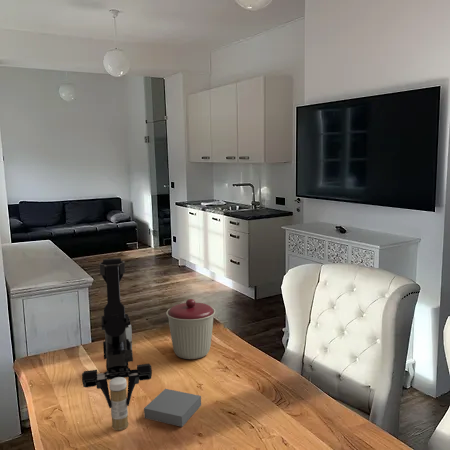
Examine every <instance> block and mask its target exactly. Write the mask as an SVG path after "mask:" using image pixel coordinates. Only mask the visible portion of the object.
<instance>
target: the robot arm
mask: <svg viewBox="0 0 450 450" xmlns="http://www.w3.org/2000/svg"><path fill="white" fill-rule="evenodd" d="M125 263H126V261H125V260H122V259H121V257H113V258H103V259H102V262H99V264H98V265H99V275H100V276H101V278H102V279H103V280H104V282H105V283H106V297H107V298H106V302H107V303H106V304H105V305H104V308H103V315H101V330H102V331H104V341H102V344H103V345H102V346H103V347H102V348H103V359H104V360H105V364H106V365H105V367H106V368H105V369H106V371H105V372H101V373H98V369H91V370H84V371H83V372H82V374H81V379H82V380H81V381H82V386H83V388H92V387H96V389H100V390H101V393H102V394H103V395H104V398H105V400H106V403H107V405H108V408H109V409H111V395H110V388H109V384H108V381H110V380H111V379H113V378H116V377H123V378H125V379H126V378H127V379H128V380H127V381H128V382H127V391H126V394H127V407H128V406H130V402H131V398H132V394H133V391H134V388H135V387H136V385H137V384H138V385H139V384H140V381H148V380H152V376H153V375H152V374H153V371H152V369H153V368H152V365H151V364H150V363H141V364H137V365H136V369H131V368H130V367H129V363H131V362H133V361H134V356H133V355H134V354H133V349H132V350H131V343H130V342H129V339H126V328H128V325H131V318H130V316H129V314H128V313H126V307H125V305H124V304H123V303H122V302H121V288H120V282H121V281H122V278H123V277H124V274H126V267H125V266H126V265H125Z"/></svg>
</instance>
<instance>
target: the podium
mask: <svg viewBox="0 0 450 450" xmlns="http://www.w3.org/2000/svg"><path fill="white" fill-rule="evenodd" d="M201 406H202V395H199V394H195V393H188V392H183V391H178V390H175V389H174V390H173V389H169V388H164V389H163V390H162V391H161V392H160V393H159V394H157V396H156V397H154V399H152V400H151V401H150V402H149V403H148V404H146V406H144V407H143V414H144V415H143V416H144V418H143V419H147V420H151V421H156V422H159V423H163V424H168V425H173V426H178V427H181V428H182V427H184V426H185V425H186V423H187V422H188V421H189V420H190V419H191V418H192V417H193V415H195V413H196V412H197V411H198V410H199V408H200V407H201Z"/></svg>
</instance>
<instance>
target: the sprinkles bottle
mask: <svg viewBox="0 0 450 450" xmlns="http://www.w3.org/2000/svg"><path fill="white" fill-rule="evenodd" d="M108 382H109V384H108V389H109V395H110V400H111V408H110V412H111V413H110V414H111V428H112V430H114V431H123V430H125V429H127V428H128V427H129V419H128V418H129V415H128V414H129V412H128V406H127V387H128V382H127V379H126V378H123V377H116V378H113V379H111V380H109V381H108Z"/></svg>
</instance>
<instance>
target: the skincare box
mask: <svg viewBox="0 0 450 450" xmlns="http://www.w3.org/2000/svg"><path fill="white" fill-rule="evenodd" d="M132 337H133V334H132V324H130V325H128V328H126V339H129V342H130V343H131V350H132V351H133V338H132Z"/></svg>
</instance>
